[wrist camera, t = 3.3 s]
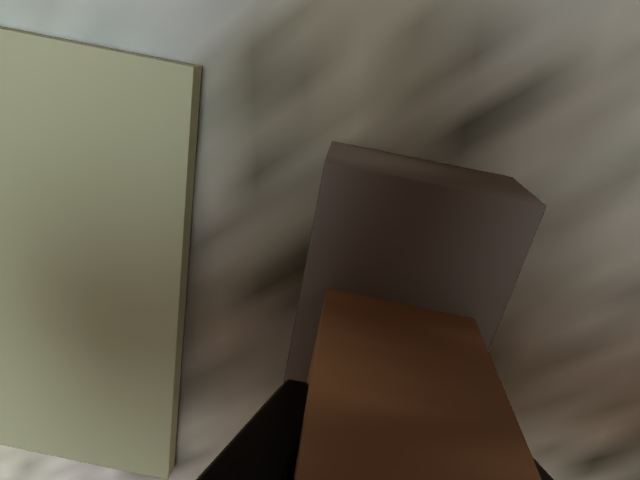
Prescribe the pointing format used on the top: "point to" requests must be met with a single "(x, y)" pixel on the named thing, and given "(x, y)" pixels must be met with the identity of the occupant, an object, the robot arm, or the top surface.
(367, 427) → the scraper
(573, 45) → the top surface
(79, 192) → the mat
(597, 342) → the top surface
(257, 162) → the top surface
